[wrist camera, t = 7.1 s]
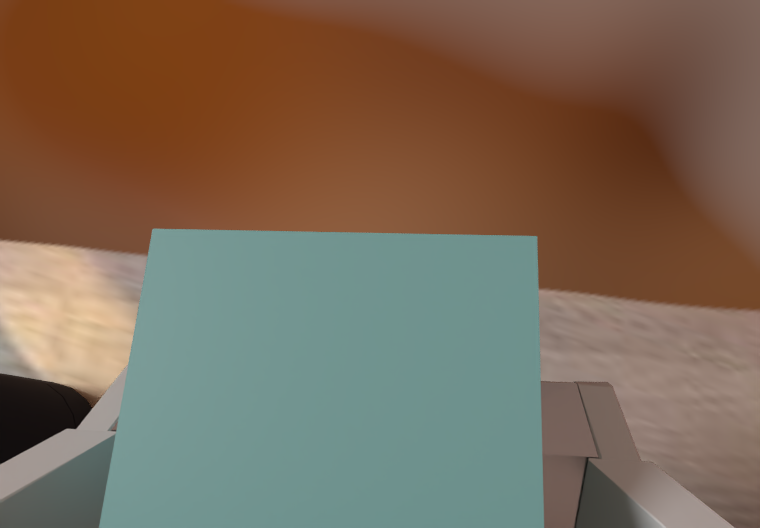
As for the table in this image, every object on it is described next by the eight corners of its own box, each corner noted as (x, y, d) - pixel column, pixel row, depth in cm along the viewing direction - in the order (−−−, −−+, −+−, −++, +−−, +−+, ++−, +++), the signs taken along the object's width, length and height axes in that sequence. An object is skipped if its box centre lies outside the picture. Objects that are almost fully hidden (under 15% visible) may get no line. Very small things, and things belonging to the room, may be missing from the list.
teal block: (484, 556, 13) (548, 712, 5) (282, 541, 13) (74, 661, 6) (484, 350, 14) (536, 236, 7) (301, 343, 15) (153, 228, 7)
